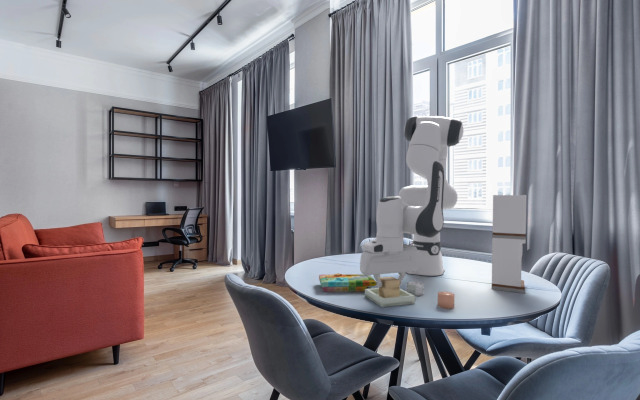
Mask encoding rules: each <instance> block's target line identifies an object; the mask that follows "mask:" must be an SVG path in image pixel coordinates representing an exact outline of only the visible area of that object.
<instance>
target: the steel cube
mask: <svg viewBox="0 0 640 400" xmlns="http://www.w3.org/2000/svg"><path fill="white" fill-rule="evenodd" d="M406 292H408V293H410V294H412V295H414V296H415V298H416V297H420V296H423V295H424V282H423V283H422V282H419V281H409V282H406Z"/></svg>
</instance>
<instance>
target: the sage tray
mask: <svg viewBox="0 0 640 400" xmlns="http://www.w3.org/2000/svg"><path fill="white" fill-rule="evenodd" d="M364 297H365V298H367V299H368V300H369V301H372V302H373V303H374V304H375V305H378V306H379V307H380V308H386V307H387V308H388V307H397V306H405V305H414V304H416V297H415V296H414V295H412V294H410V293H408V292H407V290H404V289H402V288H400V296H399V297H390V298H383V297H381V296H379V288H378V287H374V288H373V287H371V288H367V289H365V291H364Z"/></svg>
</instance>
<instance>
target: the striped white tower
mask: <svg viewBox="0 0 640 400" xmlns="http://www.w3.org/2000/svg"><path fill="white" fill-rule="evenodd" d="M526 229H527V195H526V194H520V195H519V194H512V195H511V194H509V195H507V194H504V195H503V194H493V195H492V238H491V241H492V243H491V244H492V245H491V248H492V249H491V290H497V291H505V292H513V293H522V294H525V293H526V292H525V291H526V288H525V286H526V285H525V280H524V279H522V259H523V244H527V243H526V241H527V235H526V233H527V230H526Z"/></svg>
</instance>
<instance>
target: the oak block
mask: <svg viewBox="0 0 640 400" xmlns="http://www.w3.org/2000/svg"><path fill="white" fill-rule="evenodd" d="M379 279H380V281H381V282H383V287H380V288H379V296H381V297H383V298H390V297H399V296H400V289H401V286H400V280H398V278H396V277H394V276H383V277H381V276H380V277H379Z"/></svg>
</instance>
